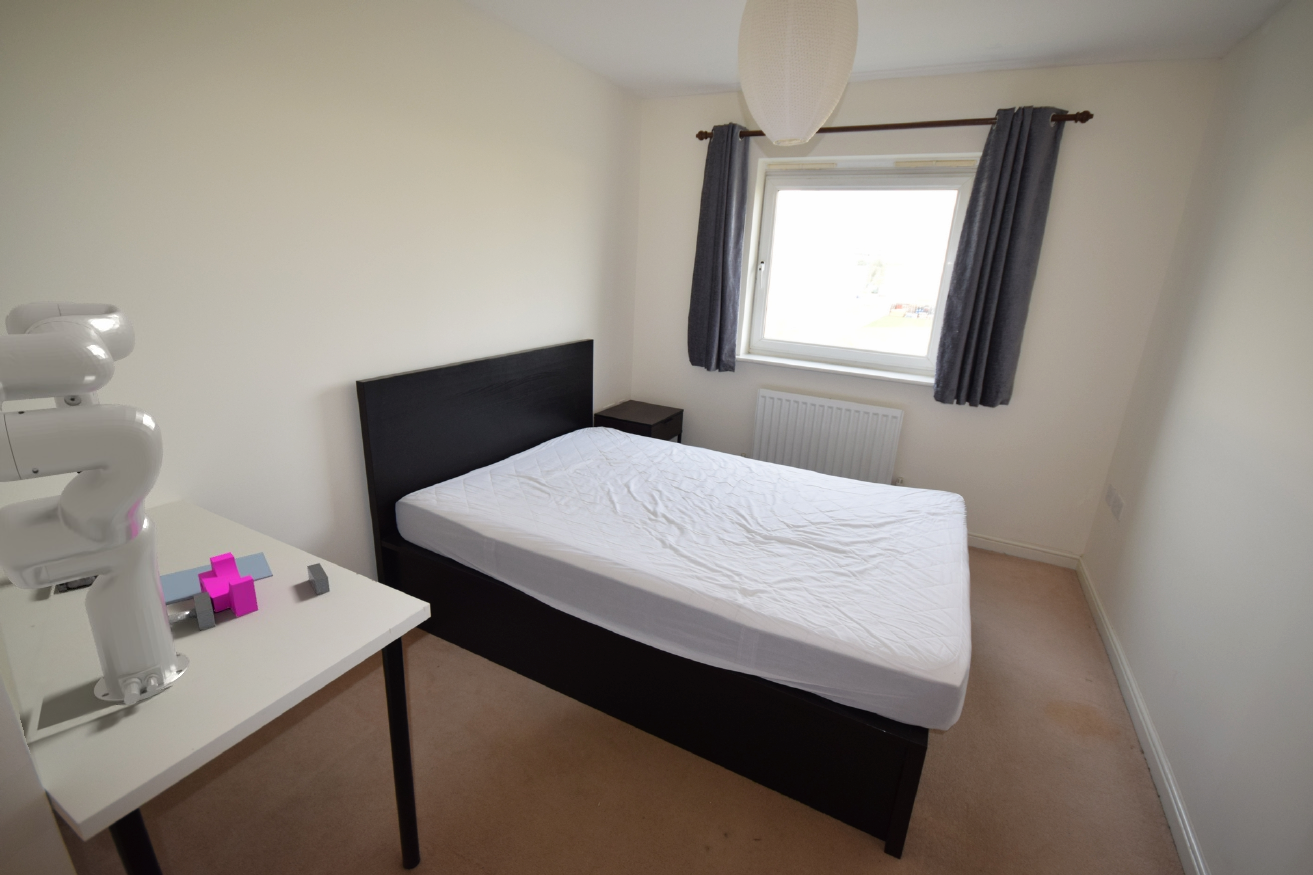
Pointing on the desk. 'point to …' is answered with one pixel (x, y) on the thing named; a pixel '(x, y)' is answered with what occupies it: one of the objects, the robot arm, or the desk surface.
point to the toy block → (228, 586)
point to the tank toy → (76, 583)
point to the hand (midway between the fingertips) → (91, 464)
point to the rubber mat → (188, 582)
